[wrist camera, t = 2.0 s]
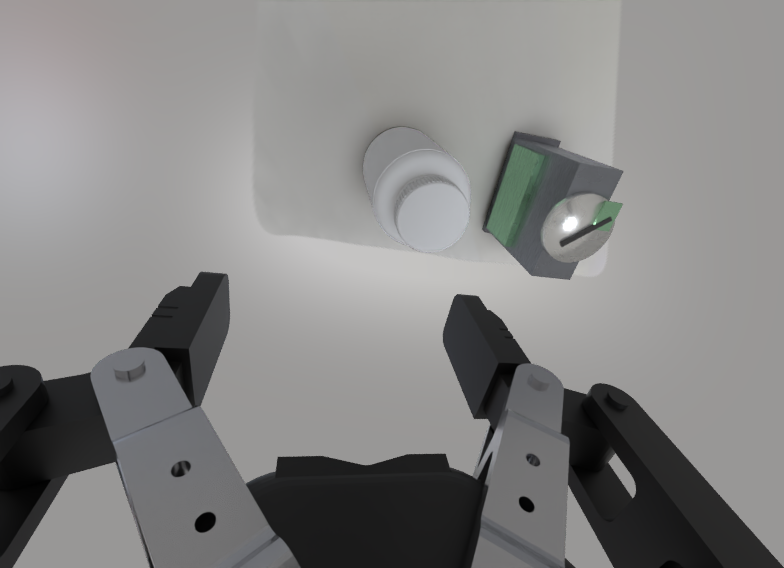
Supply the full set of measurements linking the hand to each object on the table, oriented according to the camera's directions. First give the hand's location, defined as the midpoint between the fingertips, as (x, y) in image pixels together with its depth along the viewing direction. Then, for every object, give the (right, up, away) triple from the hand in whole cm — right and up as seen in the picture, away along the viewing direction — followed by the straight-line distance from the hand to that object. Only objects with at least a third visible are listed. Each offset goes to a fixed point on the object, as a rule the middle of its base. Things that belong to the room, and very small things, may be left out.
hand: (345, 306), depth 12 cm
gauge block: (+15, +12, +29) cm, 34 cm away
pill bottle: (+2, +13, +26) cm, 29 cm away
